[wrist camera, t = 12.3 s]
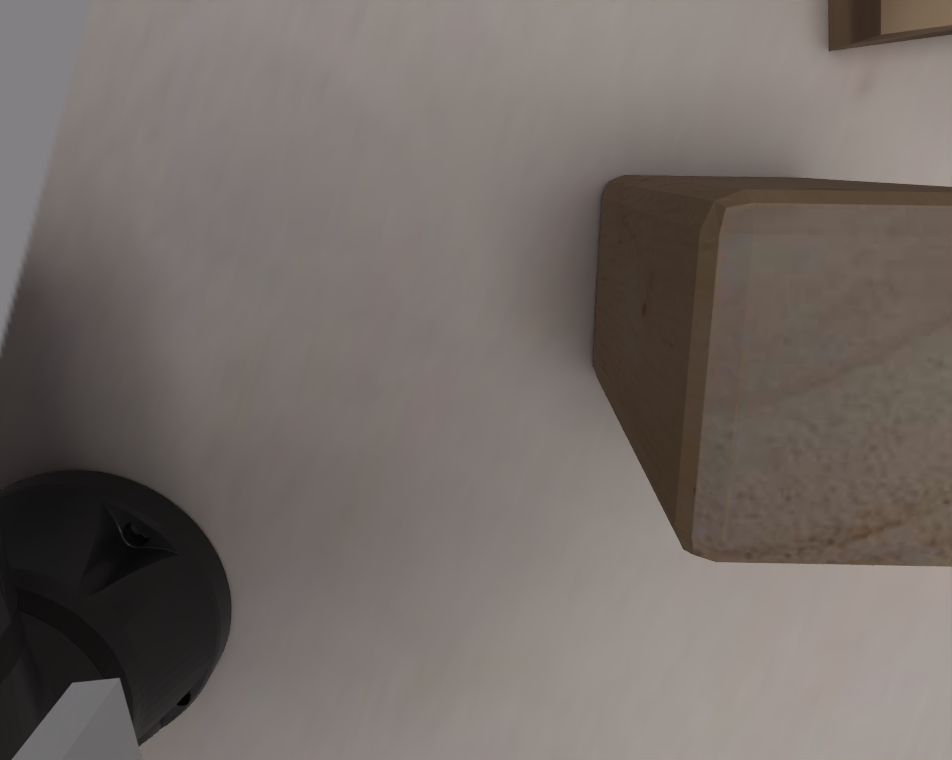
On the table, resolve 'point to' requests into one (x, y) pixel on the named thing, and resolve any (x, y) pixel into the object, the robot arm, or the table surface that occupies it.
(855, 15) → the socket block
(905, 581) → the table surface
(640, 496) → the table surface
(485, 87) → the table surface
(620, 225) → the wooden block
